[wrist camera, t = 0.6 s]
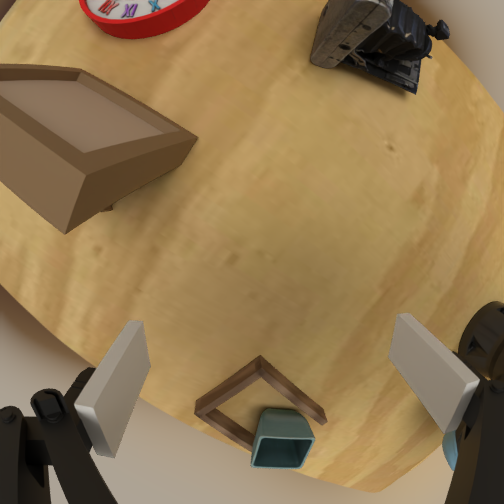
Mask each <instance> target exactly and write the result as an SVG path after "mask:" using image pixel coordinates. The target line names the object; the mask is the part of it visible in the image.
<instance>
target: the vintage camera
mask: <svg viewBox="0 0 504 504" xmlns="http://www.w3.org/2000/svg"><path fill="white" fill-rule="evenodd" d="M428 35H431V36H432V37H434V36H435V38H436V39H437V40H444V39H448V38H449V35H450V33H449V28H448V26H447V25H446V23H445V22H444V21H443V20H439V22H438V23H437V26H436V27H432V25H430V24H429V25H425V22H423V20H422V19H421V18H420V17H419V15H417V14H415V13H414V12H413V11H412V8H411V7H408V6H407V5H405V4H404V3H402V2H401V1H399V0H329V1H328V2H327V4H326V5H325V7H324V8H323V10H322V13H321V17H320V21H319V25H318V29H317V32H316V37H315V41H314V45H313V49H312V53H311V61H312V63H314V64H315V65H317V66H320V67H323V68H333V67H335V66H336V65H337V64H338V63H339V62H342V63H345V64H347V65H349V66H352V67H354V68H358V69H361V70H363V71H365V72H367V73H369V74H371V75H374V76H376V77H378V78H381V79H383V80H385V81H388V82H390V83H392V84H394V85H397V86H399V87H401V88H403V89H405V90H407V91H409V92H411V93H413V94H415V95H416V92H417V88H418V82H419V74H420V66H421V59H423V58H424V57H426V56H427V57H428V58H430V59H432V56H430V55H428V54H429V53H430V51H431V48H432V41H431V39H430V37H429V36H428Z"/></svg>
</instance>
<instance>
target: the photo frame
mask: <svg viewBox="0 0 504 504" xmlns="http://www.w3.org/2000/svg"><path fill="white" fill-rule="evenodd" d="M197 138H198V137H197V136H195V135H194V134H192V133H191V132H189V131H187V130H186V129H184V128H183V127H181V126H179V125H178V124H176V123H175V122H173V121H171V120H170V119H168V118H166V117H165V116H163V115H162V114H160V113H158V112H157V111H155V110H153V109H152V108H150V107H148V106H147V105H145V104H143V103H141V102H140V101H138V100H136V99H135V98H133V97H131V96H129V95H128V94H126V93H124V92H122V91H121V90H119V89H117V88H115V87H114V86H112V85H110V84H108V83H106V82H105V81H103V80H101V79H99V78H97V77H95V76H94V75H92V74H90V73H88V72H86V71H84V70H82V69H79V68H70V67H60V66H48V65H31V64H0V181H1V182H2V183H3V184H4V185H5V186H6V187H8V188H9V189H10V190H11V191H12V192H13V193H14V194H16V195H17V196H18V197H19V198H20V199H21V200H22V201H24V202H25V203H26V204H27V205H28V206H30V207H31V208H32V209H33V210H34V211H36V212H37V213H38V214H39V215H40V216H42V217H43V218H44V219H45V220H47V221H48V222H49V223H50V224H52V225H53V226H54V227H55V228H57V229H58V230H59V231H60V232H62V233H63V234H64V235H65V234H67V233H68V232H70V231H71V230H73V229H74V228H76V227H77V226H79V225H80V224H82V223H83V222H85V221H86V220H88V219H89V218H91V217H92V216H94V215H95V214H97V213H99V212H105V211H111V210H113V209H112V207H111V204H113V203H115V202H116V201H118V200H120V199H121V198H123V197H125V196H126V195H128V194H130V193H131V192H133V191H135V190H137V189H138V188H140V187H142V186H143V185H145V184H147V183H149V182H151V181H152V180H154V179H156V178H158V177H159V176H161V175H163V174H165V173H167V172H169V171H170V170H172V169H174V168H176V167H178V166H180V165H181V164H182V162H183V161H184V159H185V157H186V156H187V154H188V153H189V151H190V149H191V148H192V146H193V145H194V143H195V141H196V140H197Z"/></svg>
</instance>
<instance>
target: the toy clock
mask: <svg viewBox="0 0 504 504" xmlns="http://www.w3.org/2000/svg"><path fill="white" fill-rule="evenodd" d="M209 1H210V0H79V3H80V6H81V8H82V10H83V11H84V12H85V14H86V15H87V16H88V17H89V18H90V19H91V20H92V21H93V22H95V23H96V24H97V25H98V26H99V27H100V28H101V29H102V30H103V31H104V32H106V33H108V34H110V35H112V36H114V37H119V38H123V39H140V38H147V37H152V36H157V35H160V34H163V33H166V32H168V31H170V30H173V29H175V28H177V27H179V26H181V25H182V24H184V23H186V22H187V21H189V20H190V19H192V18H193V17H194V16H196V15H197V14H198V13H199V12H200V11H201V10H202V9H203V8H204V7H205V6H206V5H207V3H208V2H209Z"/></svg>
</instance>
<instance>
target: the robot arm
mask: <svg viewBox="0 0 504 504" xmlns="http://www.w3.org/2000/svg"><path fill="white" fill-rule="evenodd" d="M388 358H389V359H390V360H391V362H392V363H393V364H394V366H395V367H396V368H397V370H398V371H399V372H400V374H401V375H402V376H403V378H404V379H405V381H406V382H407V383H408V385H409V386H410V387H411V389H412V390H413V391H414V393H415V394H416V396H417V397H418V398H419V400H420V401H421V402H422V404H423V405H424V407H425V408H426V409H427V411H428V412H429V414H430V415H431V416H432V418H433V419H434V421H435V422H436V424H437V425H438V426H439V428H440V429H441V431H442V432H443V434H445V433H446V434H445V435H444V438H443V442H442V447H443V451H444V455H445V458H446V460H447V462H448V464H449V466H450V467H451V469H452V470H453V471H454V474H453V477H452V481H451V484H450V488H449V491H448V495H447V498H446V501H445V504H504V304H503V303H501V302H491V303H489V304H487V305H486V306H484V307H483V308H482V309H480V310H479V311H478V312H477V313H476V315H475V316H474V317H473V318H472V320H471V321H470V322H469V324H468V326H467V327H466V329H465V331H464V333H463V336H462V338H461V342H460V345H459V354H458V353H456V352H454V351H452V352H451V351H450V350H449V349H448V348H447V347H446V346H445V345H444V344H443V343H442V342H440V341H439V340H438V339H437V338H436V337H435V336H434V335H433V334H432V333H431V332H430V331H429V330H427V329H426V328H425V327H424V326H423V325H422V324H421V323H420V322H419V321H418V320H416V319H415V318H414V317H413V316H412V315H411V314H410V313H401V314H397V318H396V323H395V328H394V333H393V338H392V342H391V347H390V351H389V355H388ZM150 367H151V365H150V360H149V354H148V349H147V343H146V337H145V331H144V324H143V321H132V320H129V321H128V322H127V324H126V325H125V327H124V328H123V330H122V331H121V333H120V334H119V336H118V337H117V338H116V340H115V341H114V343H113V344H112V346H111V347H110V349H109V350H108V352H107V353H106V355H105V356H104V358H103V359H102V361H101V362H100V364H99V365H98V367H97V368H90V367H88V368H87V369H85V370H84V371H82V372H81V373H80V374H79V375H78V377H77V378H76V380H75V382H74V383H73V384H72V385H71V387H70V388H69V390H68V391H67V393H66V394H65V396H64V397H63V395H62V394H61V392H60V391H58V390H56V389H43V390H41V391H38V392H37V393H35V394H34V395H33V397H32V398H31V402H30V403H31V406H32V408H33V410H34V412H35V414H36V416H37V417H24V416H23V414H22V412H21V411H20V409H19V408H17V407H15V406H7V407H4V408H2V409H0V504H51V498H50V487H49V473H48V465H53V467H54V470H55V472H56V475H57V477H58V480H59V482H60V485H61V487H62V490H63V492H64V494H65V497H66V499H67V501H68V503H69V504H118V503H117V501H116V500H115V498H114V497H113V495H112V493H111V491H110V490H109V489H108V486H107V485H106V483H105V481H104V480H103V478H102V476H101V474H100V472H99V471H98V469H97V467H96V466H95V463H94V461H93V459H92V458H91V456H90V454H89V452H90V450H91V448H92V446H93V448H94V450H95V452H96V454H97V455H101V456H106V457H111V458H115V456H116V453H117V450H118V448H119V445H120V442H121V440H122V437H123V434H124V432H125V429H126V427H127V424H128V421H129V419H130V416H131V414H132V411H133V409H134V406H135V404H136V401H137V399H138V396H139V394H140V391H141V389H142V386H143V384H144V381H145V379H146V376H147V374H148V372H149V369H150ZM484 376H486V377H489V378H490V379H491V380H489V381H488V380H487V379H486V378H485V377H484Z"/></svg>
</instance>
